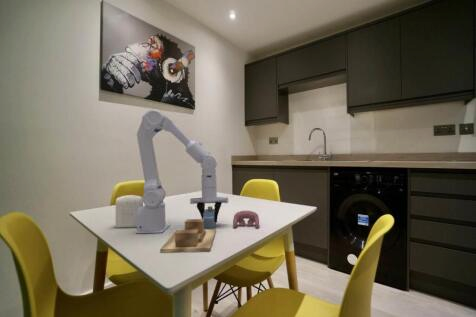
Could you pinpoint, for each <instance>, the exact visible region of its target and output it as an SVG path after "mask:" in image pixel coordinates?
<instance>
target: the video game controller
mask: <svg viewBox="0 0 476 317" xmlns="http://www.w3.org/2000/svg"><path fill="white" fill-rule="evenodd" d="M245 219H246V220H247V219H248V220H247V222H246V221H245ZM246 223H247V225H248V227H251V226H254V225H255V228H256V229H259V226H260V217H259V215H258V213H256V212H255V211H252V210H240V211H237V212H236V213H235V214H234V215H233V219H232V226H233V229H236V228H237V226H238V224H239V226H241V227H244V226H245V225H246Z"/></svg>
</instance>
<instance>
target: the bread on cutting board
mask: <svg viewBox="0 0 476 317" xmlns="http://www.w3.org/2000/svg"><path fill="white" fill-rule="evenodd" d="M216 233H217V229H216V228H214V229H204V219H202V218H195V219H193V218H192V219H191V218H187V219H186V220H184V229H177V230H175V231H174V232H173V234H172V235H170V237H169V238H168V239H167V241H166V242H165V243H164V244H163V245H162V246H161V248H160V249H159V252H160V253H163V254H164V253H165V254H166V253H193V252H194V253H202V252H204V253H205V252H208V253H209V252H211V250H212V247H213V243H214V239H215V238H216Z"/></svg>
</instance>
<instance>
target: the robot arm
mask: <svg viewBox="0 0 476 317" xmlns="http://www.w3.org/2000/svg"><path fill="white" fill-rule="evenodd" d="M162 131H164V132H169V133H171V134H172V135H173V136H174V137H175V138H176V139H177V140H179V141H180V143H181V144H183V146H185V152H186V153H187V154H188V155H189V156H190V158H192V159H193V160H194V161H195V162H196V163H197V164H200V167H201V177H200V178H201V197H191V198H189V200H190V201H189V204H190V205H194V204H196V208H197V210H198V211H199V214H200V217H201V218H200V219H203V213H204V211H205V208H206V207H205V206H206V204H214V209H215V222H216V223H217V222H218V216H219V212H220V209H221V207H222V204H229V197H225V196H223V197H222V196H217V195H218V194H217V193H218V192H217V189H218V188H217V174H216V173H217V171H216V167H217V165H218V163H217V161H216V159H215V157H213V156H211V152H210V151H207V150H206V149H205V148H204V147H203V144H202V142H199V141H197V140H191V139H190V137H188V135H187V134H186V133H185V132H184V131H183V130H182V129H181V128H180V127H179V126H178V125H177V124H176V123H175V122H174V121H173V120H172V119H170V118H169V117H167V116H166V115H164V114H163V113H162V112H161V111H160V110H159V109H157V108H156V109H153V108H152V109H150V110H148V111H147V112H145V114H143V116H141V123H140V125H139V128H138V129H137V132H136V137H137V143H138V149H139V155H140V161H141V168H142V173H143V178H144V183H143V184H144V185H143V194H142V195H143V196H142V198H143V206H142V207H140V208H139V209H138V211H137V227H136V232H135V233H136V234H158V233H159V234H160V233H161V234H162V233H163V232H165V231H166V230H167V229H168V228H169V227H170V224H166V203H165V202H164V200H165V198H166V191H165V189H164V188H163V185H162V182H161V180H160V176H159V170H158V164H157V160H156V159H157V158H156V154H155V146H154V142H153V138H154V137H155V136H156V135H157V134H158V133H159V132H162Z"/></svg>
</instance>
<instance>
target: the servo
mask: <svg viewBox="0 0 476 317" xmlns="http://www.w3.org/2000/svg"><path fill="white" fill-rule="evenodd" d="M203 219H204V229H216V225H217V222H215V208H213V206H207V208H206V209H205V211H204V213H203Z"/></svg>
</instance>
